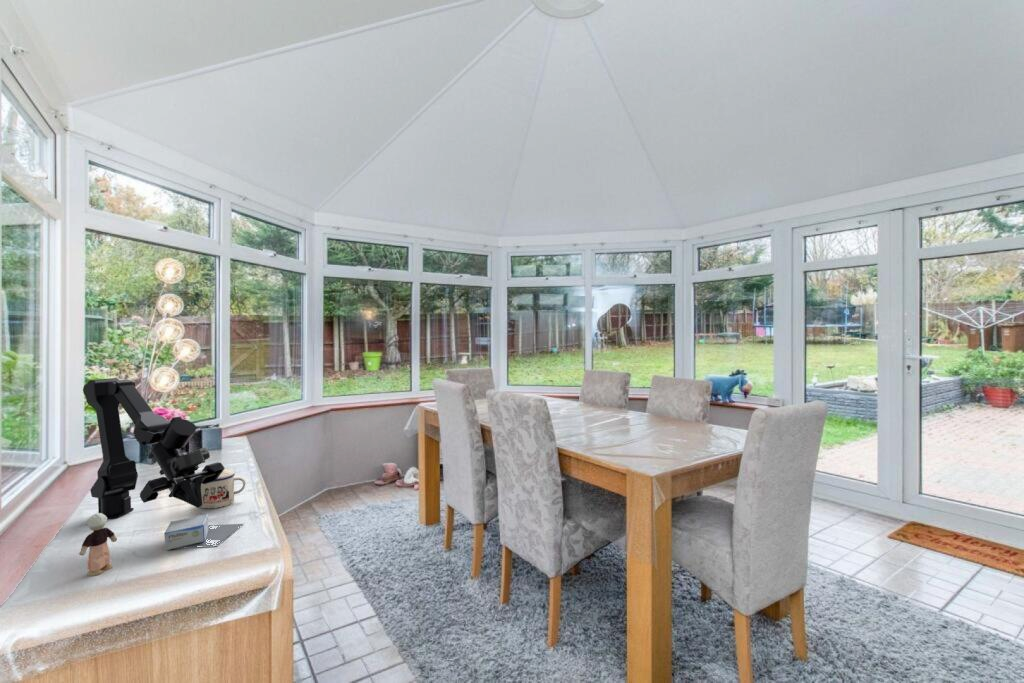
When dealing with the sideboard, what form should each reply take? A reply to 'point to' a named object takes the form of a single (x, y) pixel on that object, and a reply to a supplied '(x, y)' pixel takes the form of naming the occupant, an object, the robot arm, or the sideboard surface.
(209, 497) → the teacup with lid
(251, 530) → the sideboard surface
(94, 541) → the grandmother figurine
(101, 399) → the robot arm
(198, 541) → the medicine box
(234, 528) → the rubber mat
